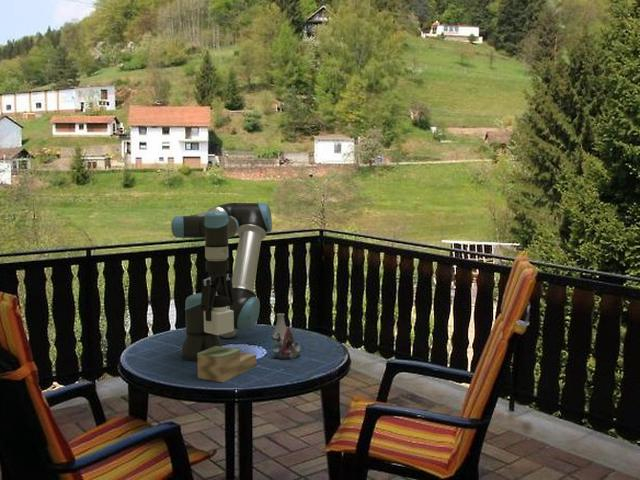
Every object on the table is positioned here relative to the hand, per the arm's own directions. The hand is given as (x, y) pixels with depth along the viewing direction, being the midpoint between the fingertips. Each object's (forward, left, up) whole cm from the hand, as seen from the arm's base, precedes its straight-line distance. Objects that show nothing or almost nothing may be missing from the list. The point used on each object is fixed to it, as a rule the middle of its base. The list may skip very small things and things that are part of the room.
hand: (218, 327), depth 211 cm
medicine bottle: (0, 0, -2) cm, 2 cm away
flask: (-7, +52, -17) cm, 55 cm away
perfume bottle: (-28, +43, -17) cm, 54 cm away
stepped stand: (0, +5, -16) cm, 17 cm away
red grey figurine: (+8, +30, -17) cm, 36 cm away
